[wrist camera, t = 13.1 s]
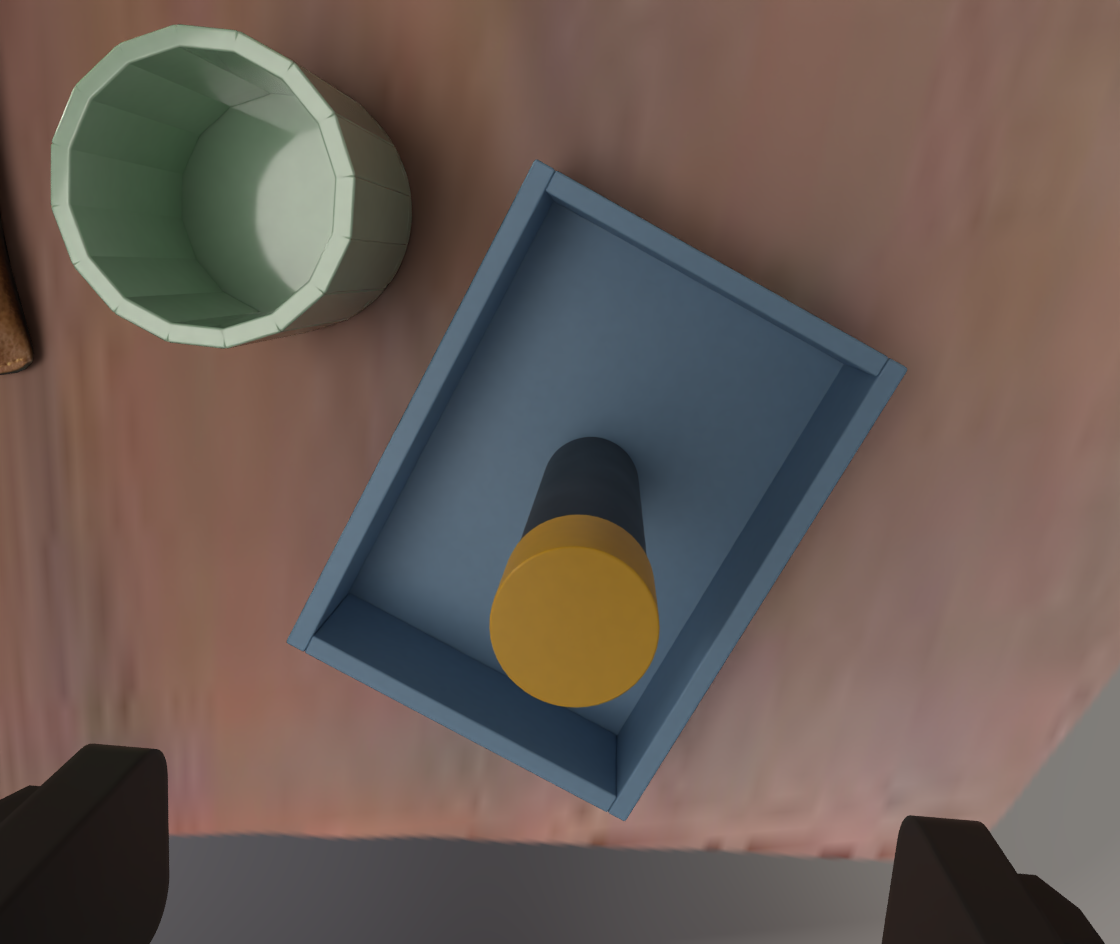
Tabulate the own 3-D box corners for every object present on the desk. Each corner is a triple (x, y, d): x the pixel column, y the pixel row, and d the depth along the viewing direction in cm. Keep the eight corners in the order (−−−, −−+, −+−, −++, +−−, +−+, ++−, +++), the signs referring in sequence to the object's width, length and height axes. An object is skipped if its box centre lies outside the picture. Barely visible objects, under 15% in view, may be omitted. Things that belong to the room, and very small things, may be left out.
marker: (522, 502, 32) (459, 658, 19) (570, 414, 31) (539, 515, 18) (610, 550, 32) (607, 737, 19) (660, 464, 31) (691, 598, 18)
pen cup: (138, 257, 31) (3, 254, 24) (235, 35, 30) (122, -35, 23) (347, 371, 32) (273, 400, 25) (454, 157, 30) (407, 124, 23)
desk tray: (329, 593, 33) (285, 642, 29) (547, 174, 30) (535, 158, 26) (624, 750, 34) (625, 822, 29) (867, 354, 31) (909, 368, 26)
